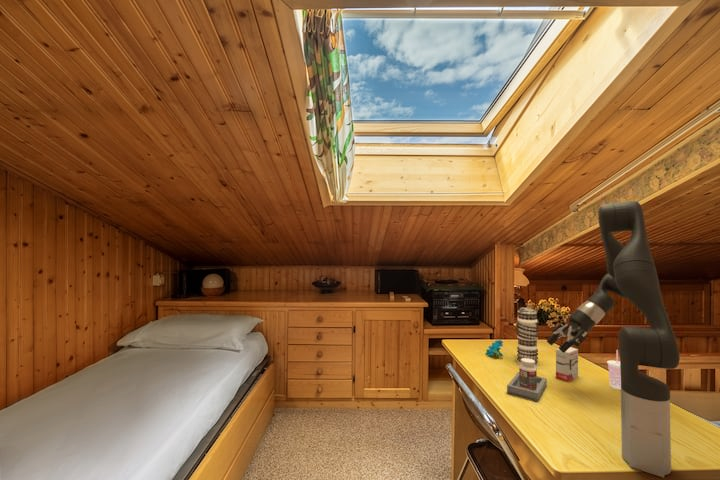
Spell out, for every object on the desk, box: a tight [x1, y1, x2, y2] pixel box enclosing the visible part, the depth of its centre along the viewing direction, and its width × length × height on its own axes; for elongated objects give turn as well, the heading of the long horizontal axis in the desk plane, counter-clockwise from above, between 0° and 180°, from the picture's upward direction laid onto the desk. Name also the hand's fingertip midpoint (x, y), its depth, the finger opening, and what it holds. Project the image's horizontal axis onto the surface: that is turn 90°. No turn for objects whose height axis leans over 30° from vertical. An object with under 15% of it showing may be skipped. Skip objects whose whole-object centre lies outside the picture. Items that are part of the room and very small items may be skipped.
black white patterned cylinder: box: [515, 306, 540, 368], centre depth 148 cm, size 9×9×25 cm
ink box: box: [555, 346, 579, 383], centre depth 132 cm, size 8×5×12 cm, turn 123°
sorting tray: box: [506, 371, 548, 403], centre depth 121 cm, size 16×10×3 cm, turn 141°
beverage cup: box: [606, 349, 621, 391], centre depth 123 cm, size 6×6×14 cm
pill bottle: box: [518, 358, 538, 390], centre depth 121 cm, size 6×6×10 cm
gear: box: [485, 339, 504, 360], centre depth 158 cm, size 11×6×10 cm
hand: (554, 346), depth 121 cm, fingers open, 8 cm apart
